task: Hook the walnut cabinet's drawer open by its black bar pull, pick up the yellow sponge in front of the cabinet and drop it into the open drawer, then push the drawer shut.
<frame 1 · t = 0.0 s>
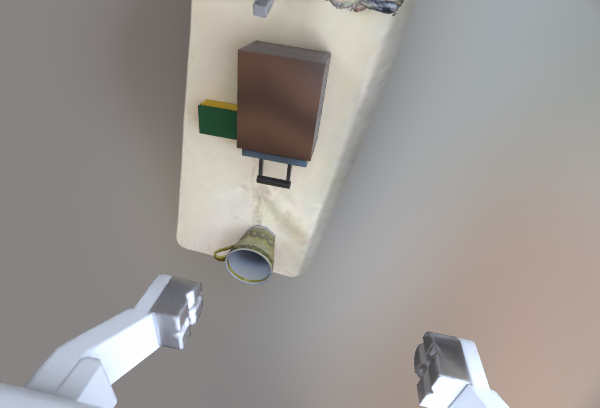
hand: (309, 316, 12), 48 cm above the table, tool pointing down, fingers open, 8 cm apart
ceramic cup: (255, 234, 74), on the table
sponge: (226, 116, 59), on the table
drawer: (280, 131, 54), point 5 cm above the table, slide at 0.5 cm
cabinet: (288, 93, 55), on the table
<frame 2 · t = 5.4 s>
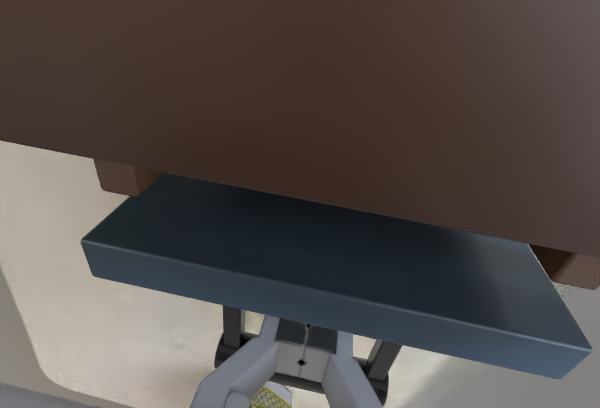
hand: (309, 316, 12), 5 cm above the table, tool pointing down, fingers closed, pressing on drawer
ceramic cup: (235, 384, 27), on the table
drawer: (355, 110, 8), point 5 cm above the table, slide at 2.8 cm, touching gripper
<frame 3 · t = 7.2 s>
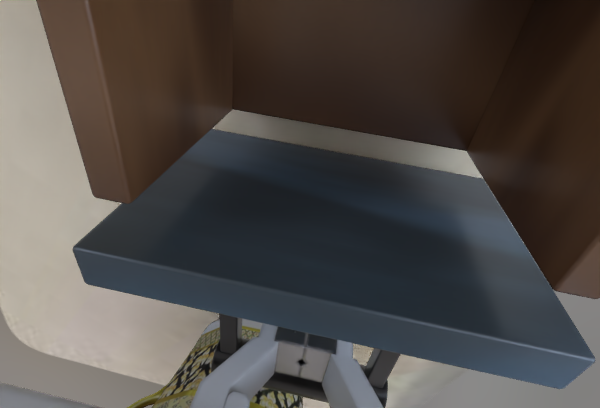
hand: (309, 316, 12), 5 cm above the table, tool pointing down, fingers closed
ceramic cup: (235, 336, 23), on the table
drawer: (353, 114, 8), point 5 cm above the table, slide at 10.1 cm
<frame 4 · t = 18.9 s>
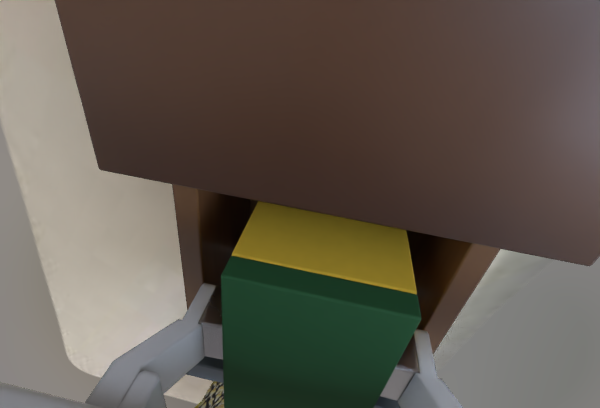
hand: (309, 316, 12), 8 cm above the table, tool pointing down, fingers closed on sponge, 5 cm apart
ceramic cup: (244, 367, 30), on the table
sponge: (315, 283, 13), point 6 cm above the table, touching gripper
drawer: (312, 284, 16), point 5 cm above the table, slide at 10.2 cm
when the fingers open (9 cm above the table, at t = 28.7 s): sponge drops 5 cm, resting on drawer.
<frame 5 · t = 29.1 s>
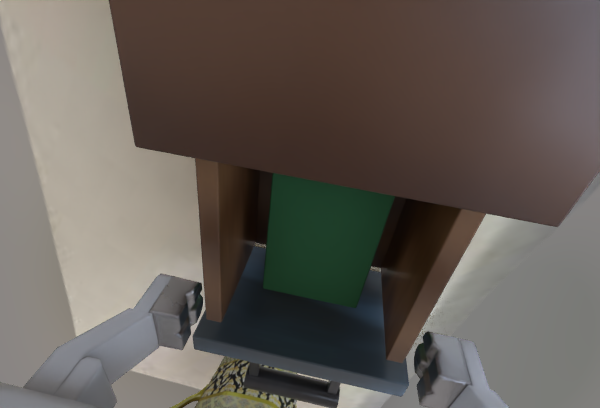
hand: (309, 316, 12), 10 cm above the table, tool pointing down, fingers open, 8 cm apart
ceramic cup: (249, 352, 32), on the table
sponge: (327, 201, 18), point 2 cm above the table, touching drawer
drawer: (315, 268, 17), point 5 cm above the table, slide at 10.6 cm, touching sponge
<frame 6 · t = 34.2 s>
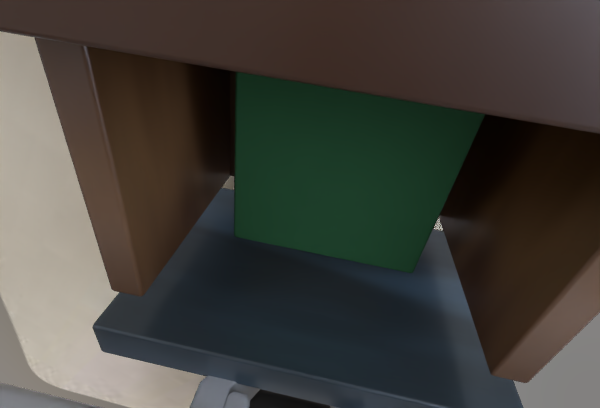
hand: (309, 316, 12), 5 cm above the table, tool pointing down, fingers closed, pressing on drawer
sponge: (354, 83, 10), point 2 cm above the table, touching drawer
drawer: (333, 201, 9), point 5 cm above the table, slide at 6.9 cm, touching gripper, sponge
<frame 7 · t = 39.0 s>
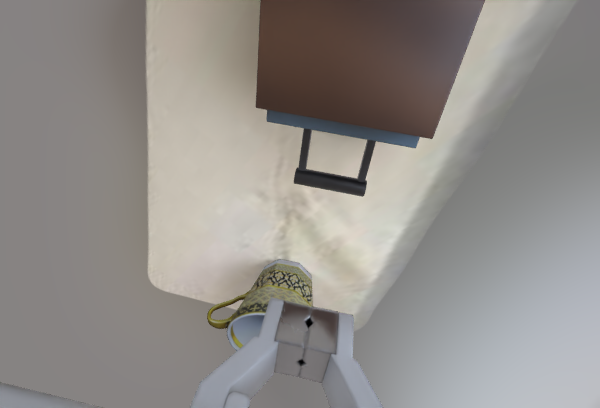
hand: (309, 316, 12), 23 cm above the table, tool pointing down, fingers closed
ceramic cup: (276, 273, 44), on the table
drawer: (352, 67, 24), point 5 cm above the table, slide at 0.0 cm, touching sponge
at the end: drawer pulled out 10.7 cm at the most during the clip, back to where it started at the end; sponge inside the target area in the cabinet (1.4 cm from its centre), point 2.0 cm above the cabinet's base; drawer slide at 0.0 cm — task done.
